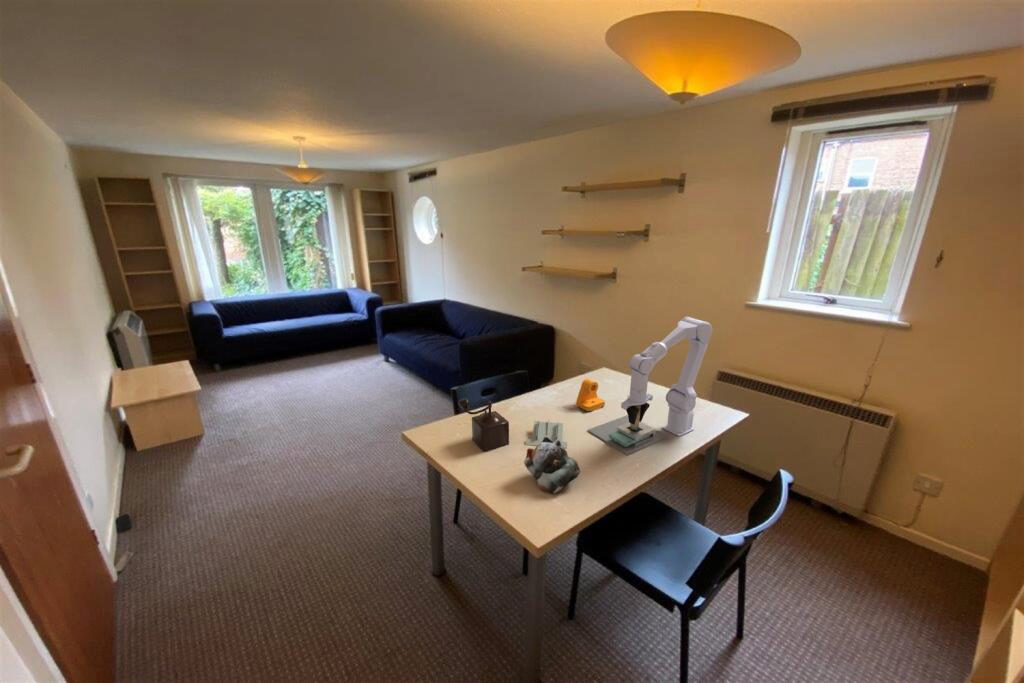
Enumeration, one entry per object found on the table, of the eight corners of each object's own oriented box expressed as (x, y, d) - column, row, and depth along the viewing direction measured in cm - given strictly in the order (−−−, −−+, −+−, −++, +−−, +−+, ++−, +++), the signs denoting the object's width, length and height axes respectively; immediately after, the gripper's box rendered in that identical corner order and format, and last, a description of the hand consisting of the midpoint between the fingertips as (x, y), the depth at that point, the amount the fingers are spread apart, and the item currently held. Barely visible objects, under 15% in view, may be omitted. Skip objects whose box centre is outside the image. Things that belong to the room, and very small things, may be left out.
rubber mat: (626, 416, 165) (626, 415, 165) (667, 437, 149) (668, 436, 149) (587, 431, 154) (587, 429, 154) (627, 455, 138) (627, 454, 138)
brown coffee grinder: (495, 431, 154) (494, 388, 149) (509, 444, 145) (509, 399, 140) (458, 442, 146) (456, 397, 141) (471, 457, 137) (469, 410, 132)
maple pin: (634, 425, 148) (636, 403, 146) (640, 428, 146) (642, 406, 143) (628, 427, 147) (630, 404, 144) (634, 430, 144) (636, 407, 142)
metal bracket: (529, 415, 154) (568, 418, 152) (529, 426, 157) (568, 429, 155) (524, 444, 142) (566, 447, 140) (525, 455, 146) (566, 458, 143)
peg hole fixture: (635, 428, 154) (636, 419, 153) (654, 438, 147) (655, 429, 146) (607, 439, 146) (608, 430, 145) (626, 451, 139) (627, 441, 138)
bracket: (587, 413, 168) (589, 387, 165) (576, 406, 174) (577, 381, 171) (605, 406, 174) (607, 381, 171) (593, 400, 180) (595, 376, 176)
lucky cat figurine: (546, 500, 116) (526, 456, 116) (532, 490, 127) (514, 451, 127) (587, 474, 120) (569, 433, 120) (571, 467, 132) (554, 429, 132)
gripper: (643, 379, 149) (639, 412, 153) (615, 388, 141) (613, 422, 145) (658, 386, 143) (655, 420, 147) (631, 395, 135) (628, 430, 139)
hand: (635, 422), depth 146 cm, fingers closed on maple pin, 3 cm apart
